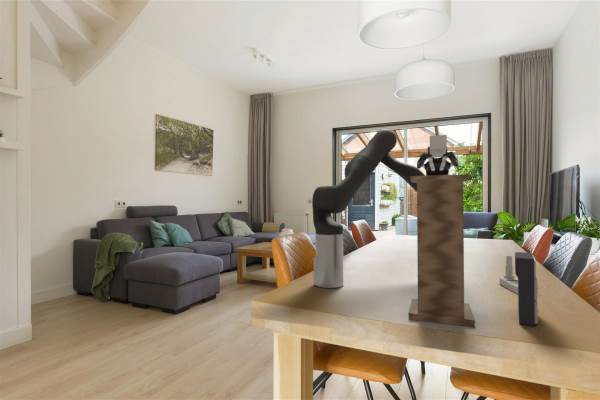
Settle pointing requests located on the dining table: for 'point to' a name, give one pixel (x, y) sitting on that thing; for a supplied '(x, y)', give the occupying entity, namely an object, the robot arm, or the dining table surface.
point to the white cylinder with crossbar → (438, 145)
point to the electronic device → (509, 277)
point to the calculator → (526, 288)
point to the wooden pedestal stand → (440, 251)
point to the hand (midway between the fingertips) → (437, 146)
